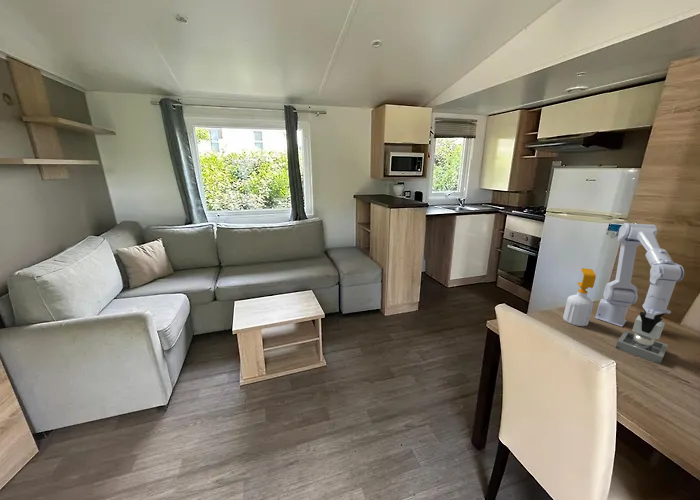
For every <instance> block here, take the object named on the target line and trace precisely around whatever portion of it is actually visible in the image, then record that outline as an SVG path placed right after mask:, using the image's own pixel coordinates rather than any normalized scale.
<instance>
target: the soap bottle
mask: <svg viewBox="0 0 700 500" xmlns="http://www.w3.org/2000/svg"><path fill="white" fill-rule="evenodd" d="M580 270H581V272H582V274H583V276H582V280H581V281H582V282H581V281H580V282H576V283H577V285H578V286H579V288H580V289H579V288H578V289H577V292H576V294H572V295H569V296H568V297H567V298H566V302H565V303H566V304H565V307H564V311H563V312H564V313H563V316H562V319H563V321H565V322H566V323H569V324H571V325H573V326H578V327H585V326H586V327H587V326H588V325H589V322H590V318H591V315H592V311H593V308H594V302H593V300H592V299H591V298H590V297H588V291H587V289H589V288H591V289H593V288H594V285H595V281H596V278H597V277H596V276H597V275H596V273H595V271H594V269H592V268H584V267H583V268H581V269H580Z"/></svg>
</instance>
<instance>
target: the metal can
mask: <svg viewBox="0 0 700 500" xmlns="http://www.w3.org/2000/svg"><path fill="white" fill-rule="evenodd" d="M634 333H635V335H634V338H633V341H632V344H631V345H634V346H637V347H640V348H643V349H645V350H648V351H651V350H652V347H653V344H654V341H655V340H656V339H655V338H651V337H648V336H645V335H642V334H639V333H636V332H634Z"/></svg>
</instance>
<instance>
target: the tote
mask: <svg viewBox="0 0 700 500" xmlns="http://www.w3.org/2000/svg"><path fill="white" fill-rule="evenodd" d="M634 335H635V332H633V331H629V330H623V333H622V334H621V336H620V337H619V338H618V340H617V342H616V345H615V349H618V350H620V351H623V352H626V353H628V354H630V355H634V356H636V357H639V358H641V359H645V360H648V361H650V362H652V363H655V364H658V365H662V361H663V360H664V359H663V358H664V356H665V355H666V351H667V349H668V346H669V344H667V343H664V342H661V341H658V340H657V339H655V341H654V344H653V347H652V350H651V351H648V350H645V349H643V348H640V347H637V346H634V345H631V344H632V341H633V338H634Z"/></svg>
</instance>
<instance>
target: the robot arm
mask: <svg viewBox="0 0 700 500" xmlns="http://www.w3.org/2000/svg"><path fill="white" fill-rule="evenodd" d="M617 235H618V236H617V242H619V243H620V248H619V254H618V262H617V268H616V275H615V279H614V280H612V281H610V282H608V283H606V285H605V288H604V290H603V298H601V299H600V301H599V303H598V306H597V310H596V313H595V316H594V318H595V319H597V320H601V321H604V322H606V323H609V324H612V325H616V326H618V327H622V328H623V327H624V325H625V324H626V323H627V320H626V315H627V313H628V310H629V307H631V306H632V305H634V304H635V303H637V301H638V296H639V295H638V287H637V286H636V285H634V284H633V283H632V278H633V272H634V266H635V261H636V254H637V247H638V246H640V245H642V246H643V248H644V249H645V250H646V253H645V255H644V257H645V258H646V260H647V262H648V264H649V265H650V269H649V283H650V284H649V287H648V290H647V293H646V295H645V299H644V302H643V304H642V308H643V311H640V312H639V315H640V317H641V320H642V331H643V332H646V333H650V332H651V331H652V330H653V328H654V326H655V325H656V324H657V323H659V322H662V320H663V318H662V317H663V316H665V315H666V314H668V315H669V314H670V315H671V313H672V311H671V310H669V309H668V306H669V303H670V301H671V297H672V295H673V292H674V289H675V286H676V284H677V282H681V280H683V278H684V277H685V276H684V275H685V270H684V267H683V266H682V265H681V264H678V263H677V262H674V261H673V259H672V258H671V256H670V255H669V252H668V251H667V250H666V249H664V248H661V247H660V244H659V242H658V239H657V235H658V227H657V226H656V225H655V224H654V223H653V224H646V223H630V222H624V223H623V224H622V225H621V226H620V227H619V229H618V233H617Z"/></svg>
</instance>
